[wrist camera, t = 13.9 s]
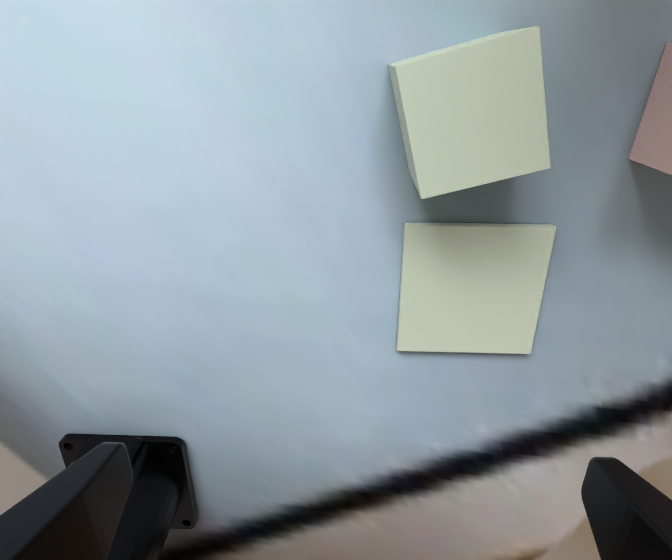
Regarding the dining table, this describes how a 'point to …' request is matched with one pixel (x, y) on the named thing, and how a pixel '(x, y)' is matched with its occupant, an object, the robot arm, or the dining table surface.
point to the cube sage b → (473, 112)
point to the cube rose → (657, 121)
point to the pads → (472, 286)
